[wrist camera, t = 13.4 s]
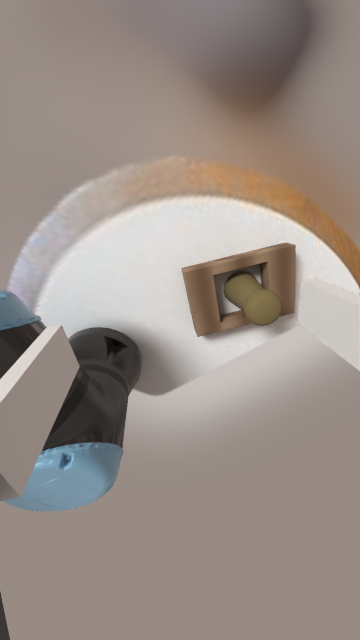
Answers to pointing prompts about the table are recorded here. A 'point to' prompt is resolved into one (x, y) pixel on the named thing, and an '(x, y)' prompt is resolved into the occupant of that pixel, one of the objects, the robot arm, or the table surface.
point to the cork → (252, 298)
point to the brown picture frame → (200, 280)
